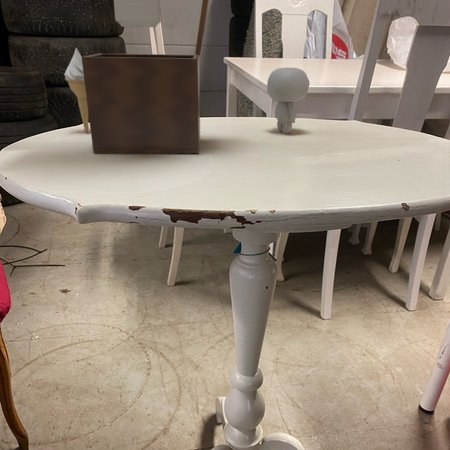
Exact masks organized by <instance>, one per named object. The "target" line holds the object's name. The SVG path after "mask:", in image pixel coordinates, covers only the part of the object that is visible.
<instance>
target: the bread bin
mask: <svg viewBox="0 0 450 450" xmlns="http://www.w3.org/2000/svg"><path fill="white" fill-rule="evenodd" d="M82 65H83V73H84V81H85V89H86V97H87V105H88V122H89V129H90V138H91V144H92V146H91V147H92V152H93V154H117V155H119V153H120V154H122V155H123V154H127V155H128V154H131V155H132V154H133V155H134V154H135V155H136V154H137V155H139V154H140V155H179V154H178V153H196V154H195V155H199V154H200V147H201V87H200V85H201V84H200V83H201V80H200V79H201V78H200V76H201V75H200V56H199V55H195V54H169V53H168V54H164V53H163V54H160V53H94V54H90V55H85V56H82Z"/></svg>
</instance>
